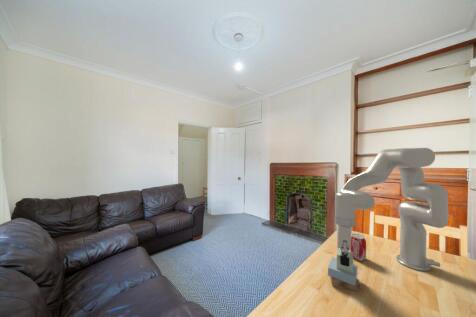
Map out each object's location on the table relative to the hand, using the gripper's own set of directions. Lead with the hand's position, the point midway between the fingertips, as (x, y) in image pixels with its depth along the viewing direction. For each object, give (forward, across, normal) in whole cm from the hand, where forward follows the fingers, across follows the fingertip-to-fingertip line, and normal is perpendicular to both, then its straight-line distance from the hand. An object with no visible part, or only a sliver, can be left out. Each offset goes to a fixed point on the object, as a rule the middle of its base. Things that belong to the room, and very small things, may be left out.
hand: (344, 259), depth 79 cm
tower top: (+6, 0, 0) cm, 6 cm away
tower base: (+10, 0, 0) cm, 10 cm away
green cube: (+3, 0, 0) cm, 3 cm away
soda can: (+10, -24, +7) cm, 27 cm away
